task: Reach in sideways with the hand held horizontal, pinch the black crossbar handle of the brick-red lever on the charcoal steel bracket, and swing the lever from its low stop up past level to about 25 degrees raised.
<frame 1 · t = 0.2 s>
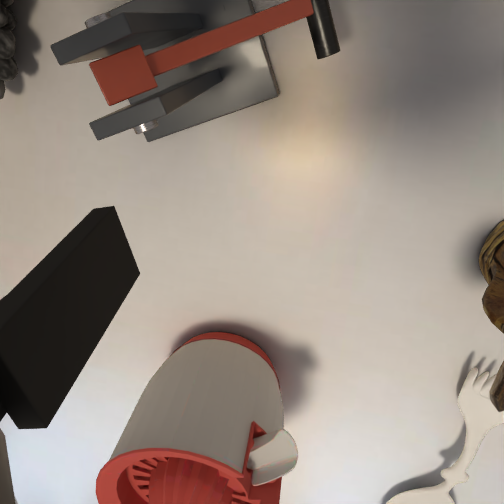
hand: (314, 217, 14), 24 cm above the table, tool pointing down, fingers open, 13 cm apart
citrus juicer: (232, 365, 50), on the table
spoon: (446, 454, 52), on the table
bracket: (190, 56, 35), on the table
lever: (217, 40, 24), point 10 cm above the table, hinge at -28.0°
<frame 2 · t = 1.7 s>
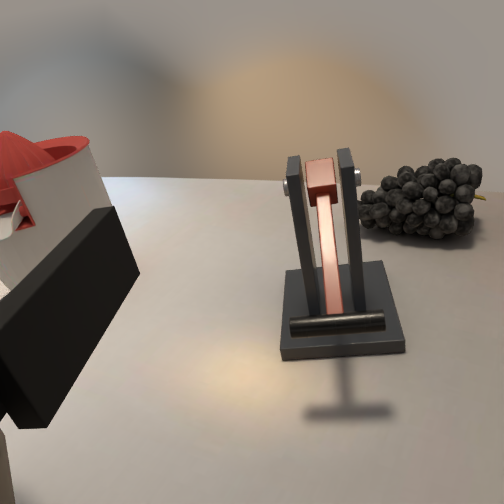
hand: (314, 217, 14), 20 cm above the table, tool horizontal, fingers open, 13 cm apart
citrus juicer: (76, 291, 54), on the table
fruit: (412, 229, 51), on the table
bracket: (337, 310, 41), on the table
lever: (327, 242, 31), point 10 cm above the table, hinge at -28.0°
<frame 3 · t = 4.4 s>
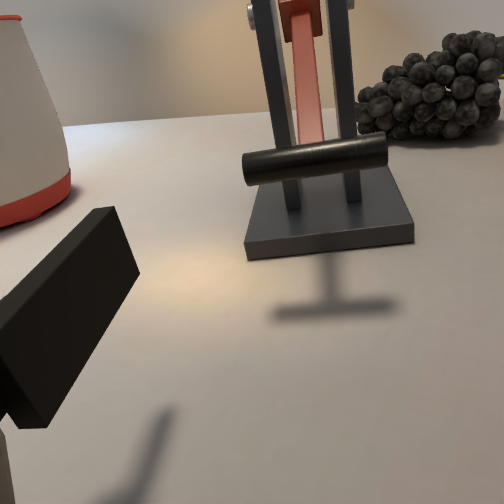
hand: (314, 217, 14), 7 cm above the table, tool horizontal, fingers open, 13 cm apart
citrus juicer: (13, 215, 45), on the table
fruit: (421, 135, 41), on the table
bracket: (325, 209, 31), on the table
lever: (305, 67, 22), point 10 cm above the table, hinge at -28.0°
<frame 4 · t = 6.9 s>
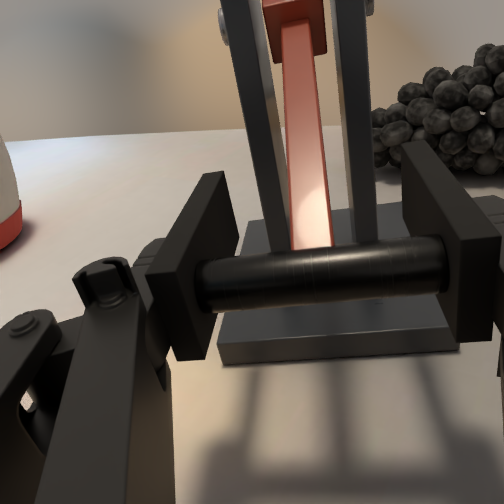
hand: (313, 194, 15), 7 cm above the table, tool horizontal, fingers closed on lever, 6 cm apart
fruit: (444, 167, 34), on the table
bracket: (329, 279, 23), on the table
lever: (302, 106, 14), point 10 cm above the table, hinge at -28.0°, touching gripper
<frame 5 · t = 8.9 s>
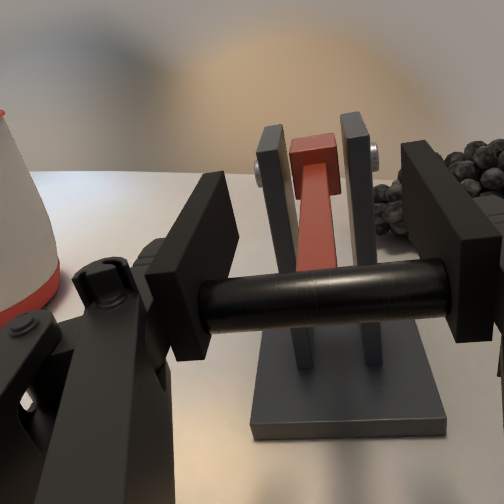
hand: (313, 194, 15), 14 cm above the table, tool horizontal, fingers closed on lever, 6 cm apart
fruit: (439, 237, 38), on the table
bracket: (339, 356, 28), on the table
lever: (316, 206, 17), point 13 cm above the table, hinge at 3.3°, touching gripper
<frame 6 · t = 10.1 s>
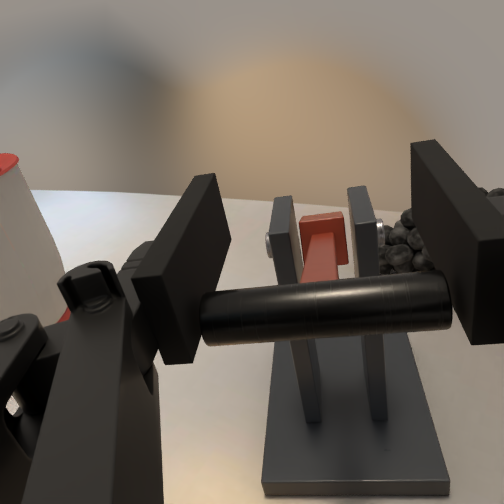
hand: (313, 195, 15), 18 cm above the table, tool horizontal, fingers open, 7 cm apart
citrus juicer: (10, 349, 43), on the table
fruit: (441, 276, 39), on the table
bracket: (345, 407, 29), on the table
lever: (322, 260, 17), point 15 cm above the table, hinge at 20.4°
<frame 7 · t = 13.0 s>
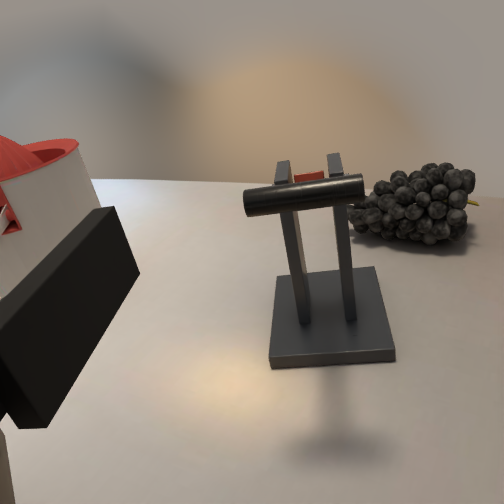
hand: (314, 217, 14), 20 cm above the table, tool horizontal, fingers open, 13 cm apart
citrus juicer: (65, 295, 53), on the table
fruit: (405, 234, 50), on the table
bracket: (328, 317, 40), on the table
lever: (308, 190, 28), point 15 cm above the table, hinge at 20.4°
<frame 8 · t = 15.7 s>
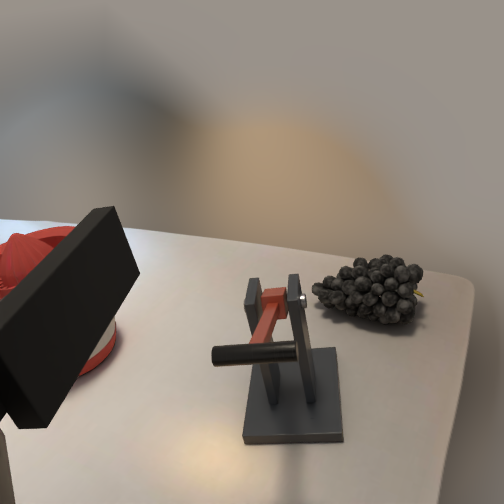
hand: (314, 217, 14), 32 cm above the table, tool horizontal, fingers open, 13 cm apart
citrus juicer: (75, 359, 62), on the table
fruit: (367, 310, 59), on the table
bracket: (294, 395, 48), on the table
lever: (267, 323, 37), point 15 cm above the table, hinge at 20.4°
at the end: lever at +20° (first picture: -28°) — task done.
